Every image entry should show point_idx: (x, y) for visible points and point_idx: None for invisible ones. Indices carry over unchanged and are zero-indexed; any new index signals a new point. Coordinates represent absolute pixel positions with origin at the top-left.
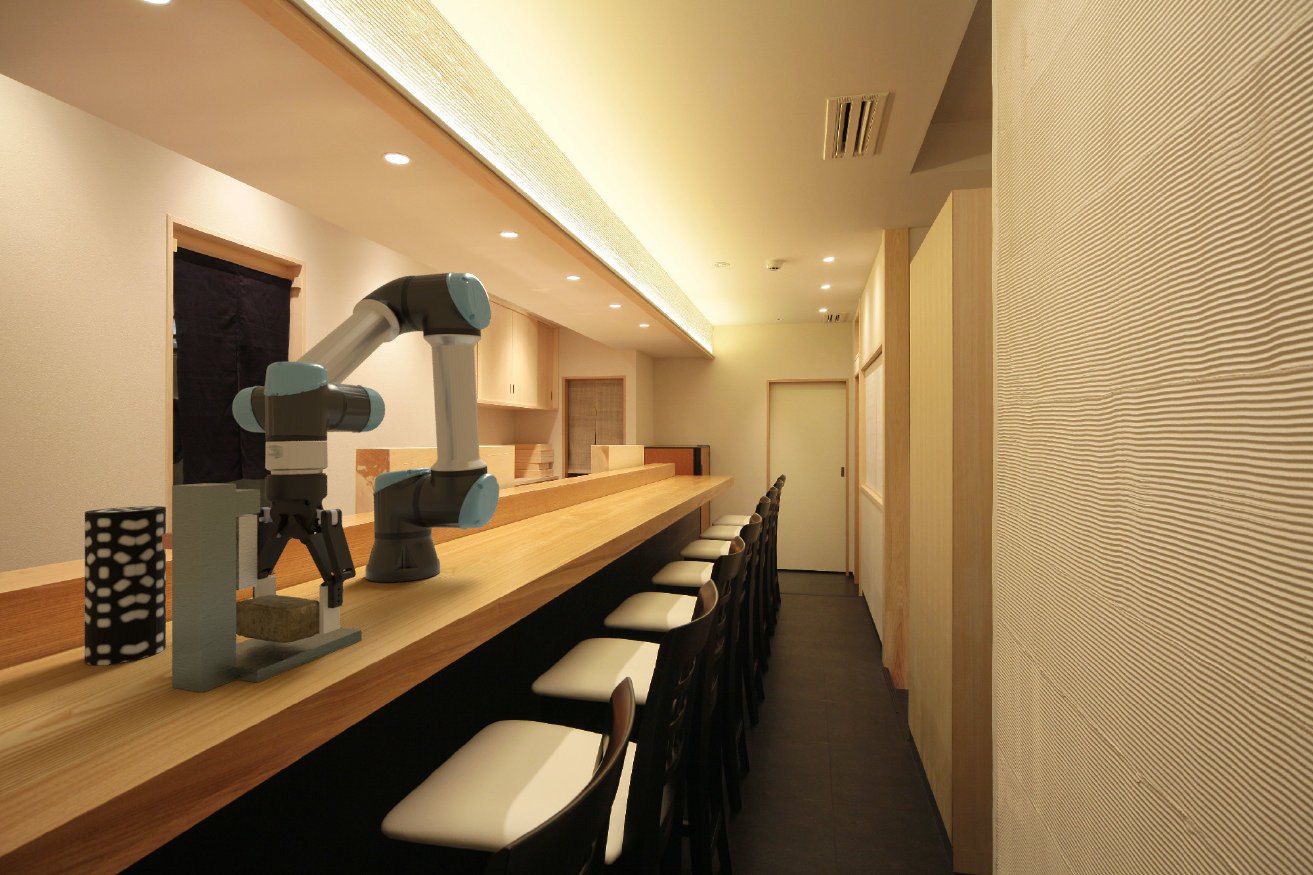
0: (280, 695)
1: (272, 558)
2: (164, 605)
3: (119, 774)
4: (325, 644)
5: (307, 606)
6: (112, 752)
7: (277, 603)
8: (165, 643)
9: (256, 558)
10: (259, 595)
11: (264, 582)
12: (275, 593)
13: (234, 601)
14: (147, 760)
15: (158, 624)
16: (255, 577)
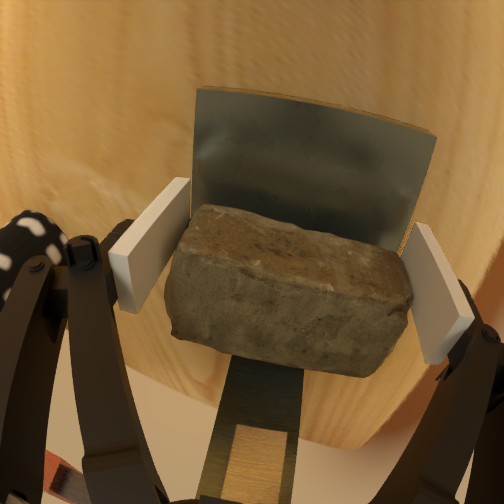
0: (404, 354)
1: (121, 360)
2: (14, 276)
3: (353, 430)
4: (400, 239)
5: (395, 343)
6: (320, 420)
7: (313, 358)
8: (51, 229)
9: (277, 500)
10: (157, 274)
11: (139, 288)
12: (157, 220)
13: (296, 444)
14: (358, 423)
15: None
16: (283, 454)
